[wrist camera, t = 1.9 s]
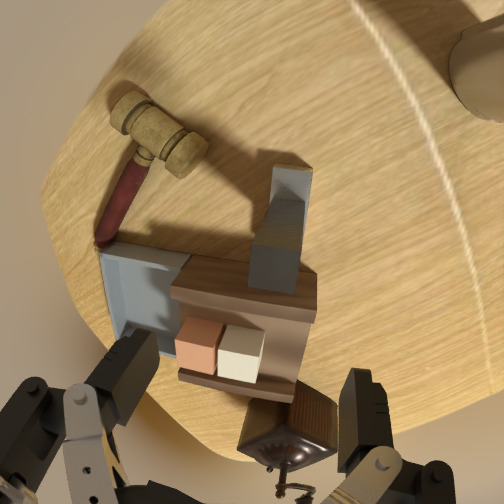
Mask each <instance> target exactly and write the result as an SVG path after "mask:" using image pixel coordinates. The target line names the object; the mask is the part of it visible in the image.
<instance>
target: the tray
mask: <svg viewBox="0 0 504 504" xmlns="http://www.w3.org/2000/svg"><path fill="white" fill-rule="evenodd" d="M99 256H100V263H101V269H102V275H103V281H104V287H105V292H106V297H107V302H108V307H109V312H110V317H111V321H112V326H113V330H114V334H115V338H116V341H118V340H119V339H121V338H122V337H124V336H127V337H130V336H131V335H132V333H133V332H134V331H135V329H136V328H138V327H139V328H143V329H147V330H150V331H154V332H155V333H156V336H157V343H158V350H159V354H161V355H165V356H168V357H172V358H176V359H177V357H176V348H175V338H176V336H177V334H178V333H179V331H180V329H181V327H180V312H179V300H177V299H173V298H171V295H170V284H171V283H172V282H173V281H174V279H175V278H176V277H177V276H178V274H179V273H180V272H181V270H182V269H183V268H184V267H185V265H186V264H187V263H188V262H189V260H190V259H191V258H192V254H188V253H182V252H176V251H170V250H164V249H158V248H152V247H146V246H140V245H134V244H128V243H122V242H116V241H114V242H112V243H111V244H110V245H108V246H107V247H106V248H104V249H103V250H102V251H100V252H99Z"/></svg>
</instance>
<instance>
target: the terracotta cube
mask: <svg viewBox="0 0 504 504" xmlns="http://www.w3.org/2000/svg"><path fill="white" fill-rule="evenodd" d="M222 338H223V323H218V322H213V321H208V320H203V319H198V318H193V317H189V316H188V317H187V319H186V321H185V323H184V324H183V326H182V328H181V329H180V331H179V333H178V334H177V336H176V338H175V348H176V357H177V366H178V367H182V368H186V369H190V370H194V371H198V372H203V373H207V374H211V375H213V374H214V371H215V369H216V366H217V364H218V348H219V346H220V343H221V341H222Z"/></svg>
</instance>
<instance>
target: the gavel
mask: <svg viewBox="0 0 504 504" xmlns="http://www.w3.org/2000/svg"><path fill="white" fill-rule="evenodd" d="M109 121H110V125H111V126H112V127H114V128H115V129H116V130H118V131H119V132H120V133H121V134H123V135H128V134H130V136H131V138H133V139H134V140H135V141H137V142H138V143H139V146H138V148H137V150H136V152H135V154H134V156H133V157H132V158H131V160H130V161H129V162H128V164H127V165H126V167H125V169H124V171H123V173H122V175H121V177H120V179H119V181H118V183H117V185H116V187H115V189H114V192H113V194H112V196H111V198H110V200H109V202H108V204H107V207H106V209H105V211H104V213H103V216H102V218H101V220H100V223H99V225H98V227H97V230H96V232H95V250H94V251H95V253H96V254H99V252H100V251H102V250H103V249H104V248H105V247H107V246H108V245H109V244H110V243H111V242H112V241H113V239H114V237H115V235H116V233H117V231H118V229H119V227H120V225H121V223H122V221H123V219H124V217H125V215H126V213H127V211H128V209H129V207H130V205H131V203H132V201H133V199H134V198H135V196H136V194H137V192H138V190H139V188H140V186H141V185H142V183H143V181H144V179H145V178H146V176H147V174H148V171H149V168H150V165H151V163H152V162H153V160H154V158H155V157H157V158H158V159H159V160H163V161H165V162H166V163H165V168H166V169H167V170H168V171H169V172H171V173H172V174H173V175H174V176H176V177H177V178H178V179H183V178H185V177H186V176H187V175H189V174H190V173H191V172H192V171H193V170H194V169H195V167H196V166H197V165H198V164H199V162H200V161H201V159H202V158H203V157H204V155H205V154H206V152H207V151H208V148H209V142H207V141H206V140H205V139H203V138H202V137H201V136H200V135H198V134H197V133H196V132H191V133H188V132H186V131H185V128H184V127H182V126H181V125H180V124H178V123H177V122H176V121H174V120H173V119H172V118H170V117H169V116H168V115H166V114H165V113H163V112H162V111H161V110H159V109H158V108H157V107H153V106H152V101H151V99H149V98H148V97H146V96H145V95H144V94H142V93H141V92H139V91H137V90H135V91H131V92H129V93H128V94H126V95H125V96H123V97H122V98H121V99H120V100H119V101H118V102H117V104H116V105H115V106H114V108H113V110H112V112H111V115H110V120H109Z"/></svg>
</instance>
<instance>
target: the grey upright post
mask: <svg viewBox="0 0 504 504" xmlns="http://www.w3.org/2000/svg"><path fill="white" fill-rule="evenodd" d="M312 175H313V168H308V167H301V166H294V165H287V164H279V163H276V164H275V165H274V167H273V172H272V182H271V192H270V202H269V207H268V209H267V212H266V214H265V216H264V218H263V220H262V222H261V224H260V227H259V229H258V231H257V233H256V235H255V237H254V240H253V242H252V244H251V254H250V265H249V277H248V287H252V288H258V289H264V290H270V291H276V292H283V293H289V294H294V292H295V286H296V280H297V275H298V269H299V263H300V257H301V250H302V244H303V237H304V231H305V224H306V218H307V211H308V204H309V197H310V190H311V183H312Z"/></svg>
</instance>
